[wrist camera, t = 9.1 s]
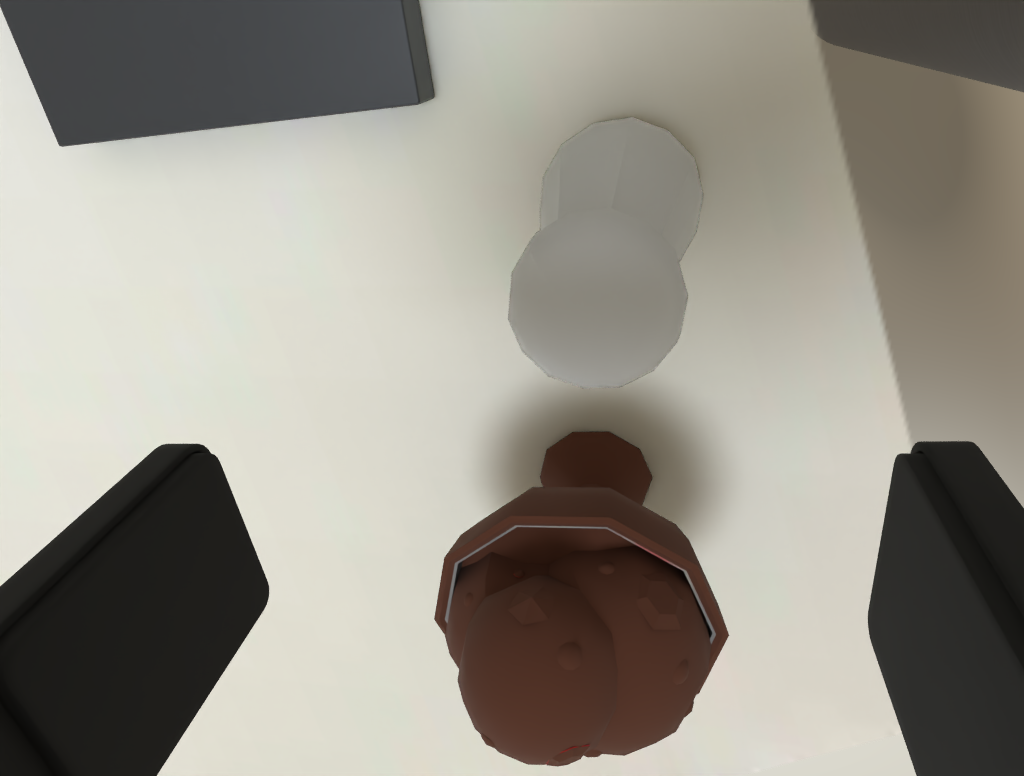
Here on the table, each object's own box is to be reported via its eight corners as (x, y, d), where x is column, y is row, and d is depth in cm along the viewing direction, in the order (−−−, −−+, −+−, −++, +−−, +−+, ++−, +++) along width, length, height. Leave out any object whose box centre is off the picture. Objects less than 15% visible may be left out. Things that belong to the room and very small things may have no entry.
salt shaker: (698, 98, 24) (726, 179, 13) (702, 251, 27) (728, 425, 16) (539, 120, 26) (445, 210, 15) (558, 264, 28) (491, 432, 17)
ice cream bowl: (476, 531, 37) (377, 813, 24) (510, 354, 31) (404, 601, 18) (667, 582, 36) (671, 903, 23) (739, 410, 30) (797, 710, 17)
